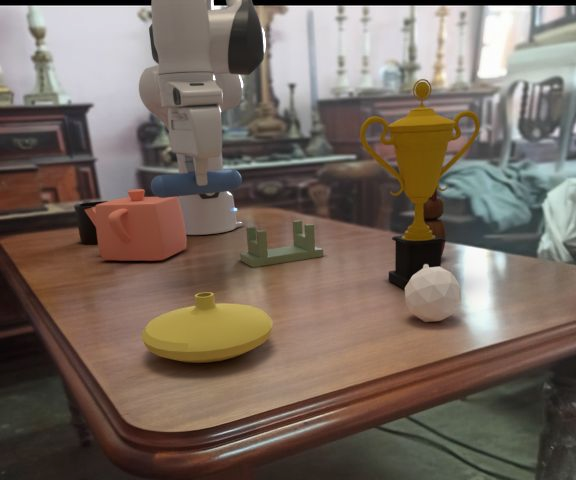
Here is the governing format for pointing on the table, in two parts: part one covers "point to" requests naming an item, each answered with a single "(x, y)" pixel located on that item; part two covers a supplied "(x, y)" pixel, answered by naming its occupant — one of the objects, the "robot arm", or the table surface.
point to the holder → (264, 256)
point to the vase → (207, 331)
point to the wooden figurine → (435, 217)
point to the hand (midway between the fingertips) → (197, 183)
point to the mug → (86, 223)
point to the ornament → (432, 294)
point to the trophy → (418, 176)
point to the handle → (186, 184)
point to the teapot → (139, 227)
